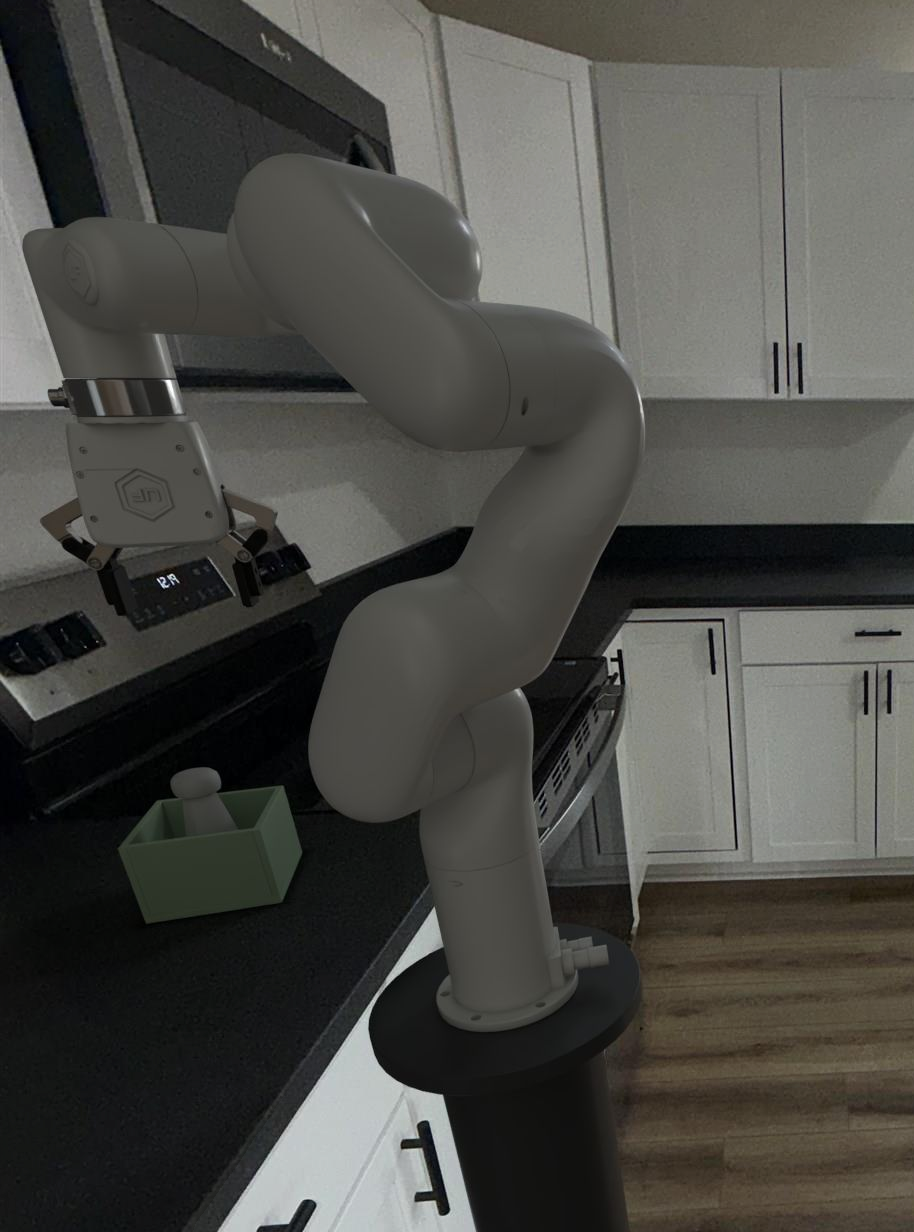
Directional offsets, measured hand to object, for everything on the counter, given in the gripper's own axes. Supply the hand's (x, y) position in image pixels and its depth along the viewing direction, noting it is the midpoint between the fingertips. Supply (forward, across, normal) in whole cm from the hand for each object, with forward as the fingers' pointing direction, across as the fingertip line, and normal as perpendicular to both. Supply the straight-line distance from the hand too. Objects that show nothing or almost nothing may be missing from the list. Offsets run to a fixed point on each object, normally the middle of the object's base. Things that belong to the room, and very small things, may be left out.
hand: (191, 608), depth 84 cm
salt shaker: (+32, -7, +9) cm, 34 cm away
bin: (+32, -7, +9) cm, 34 cm away
